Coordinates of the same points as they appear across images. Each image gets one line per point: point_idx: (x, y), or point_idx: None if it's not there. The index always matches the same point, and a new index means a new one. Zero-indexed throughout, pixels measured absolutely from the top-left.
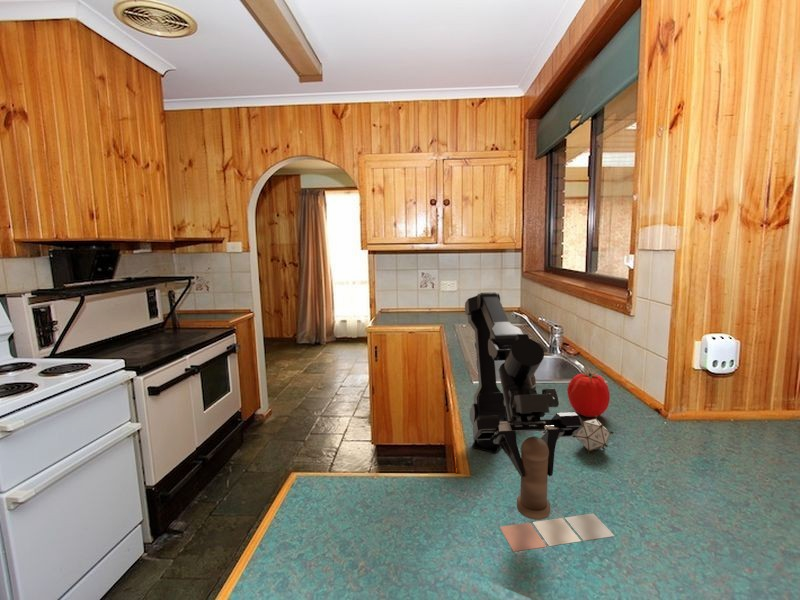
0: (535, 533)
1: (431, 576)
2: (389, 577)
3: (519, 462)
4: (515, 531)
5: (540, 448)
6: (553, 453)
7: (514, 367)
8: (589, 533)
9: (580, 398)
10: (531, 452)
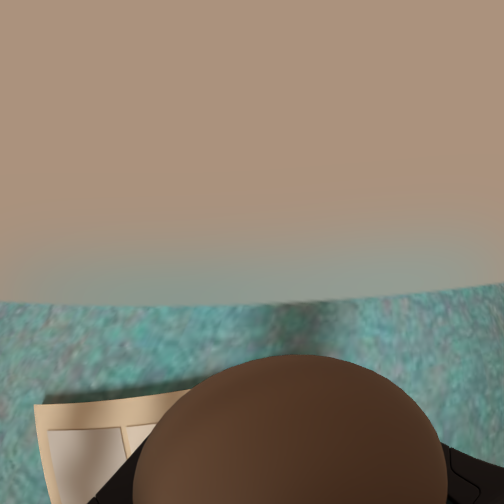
0: None
1: (454, 321)
2: (499, 310)
3: None
4: None
5: (266, 374)
6: (99, 499)
7: None
8: (96, 448)
9: None
10: (366, 368)
